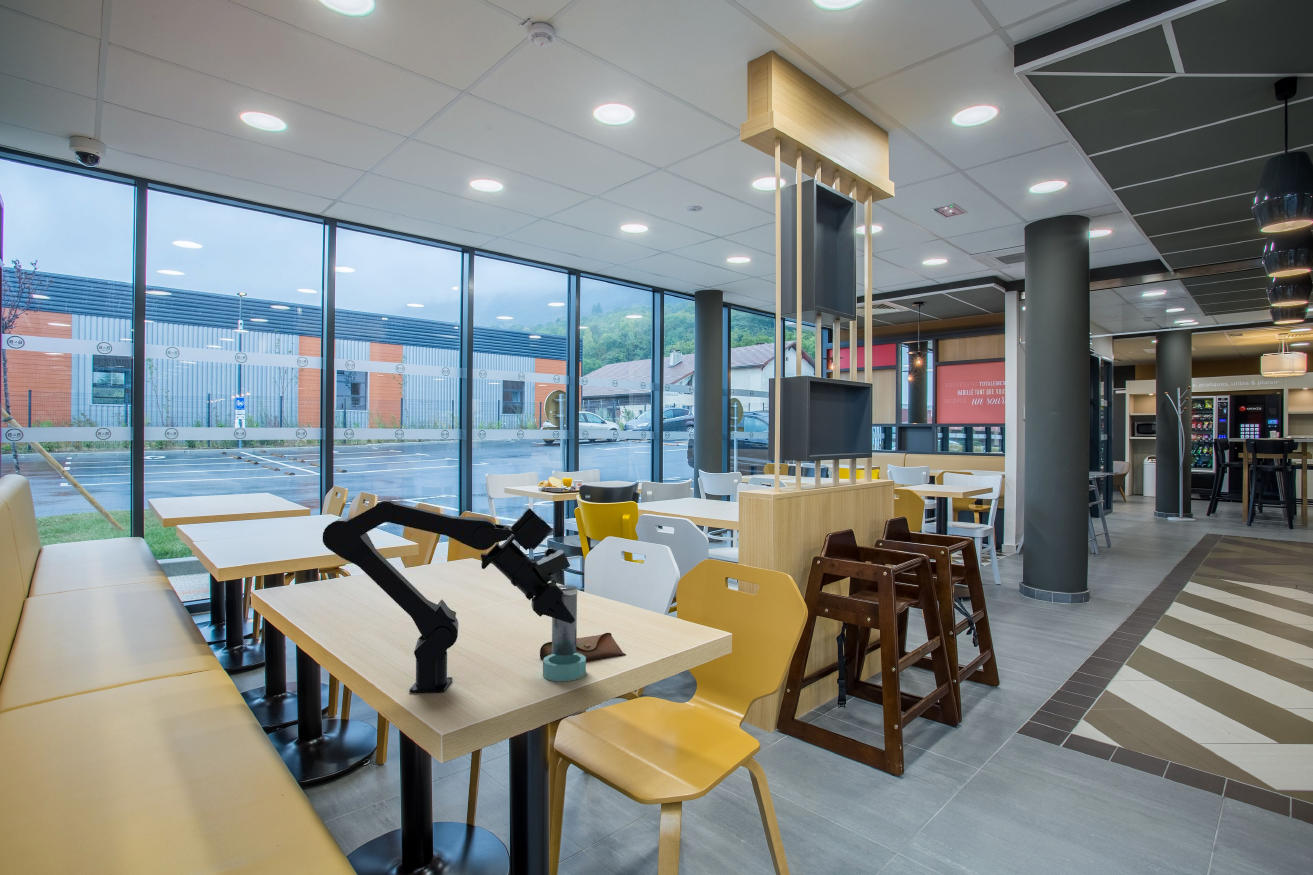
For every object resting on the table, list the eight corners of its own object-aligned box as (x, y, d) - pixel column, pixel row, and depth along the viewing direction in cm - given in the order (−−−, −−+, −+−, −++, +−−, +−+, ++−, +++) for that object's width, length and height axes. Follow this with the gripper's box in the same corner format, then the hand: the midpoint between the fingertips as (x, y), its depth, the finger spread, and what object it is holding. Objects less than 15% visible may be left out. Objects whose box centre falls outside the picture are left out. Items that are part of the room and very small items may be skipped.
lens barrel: (574, 655, 127) (574, 590, 127) (548, 655, 127) (549, 590, 128) (579, 647, 132) (579, 585, 132) (554, 647, 132) (555, 584, 133)
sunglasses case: (554, 669, 132) (548, 637, 135) (543, 677, 137) (537, 646, 140) (629, 654, 142) (621, 625, 145) (615, 662, 147) (608, 634, 150)
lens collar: (584, 680, 126) (584, 665, 126) (540, 681, 125) (540, 666, 125) (586, 666, 134) (586, 651, 134) (546, 666, 134) (546, 652, 134)
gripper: (552, 544, 120) (608, 599, 123) (540, 531, 138) (590, 580, 141) (509, 588, 118) (567, 643, 121) (503, 569, 136) (554, 618, 139)
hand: (571, 618), depth 130 cm, fingers closed on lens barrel, 5 cm apart
